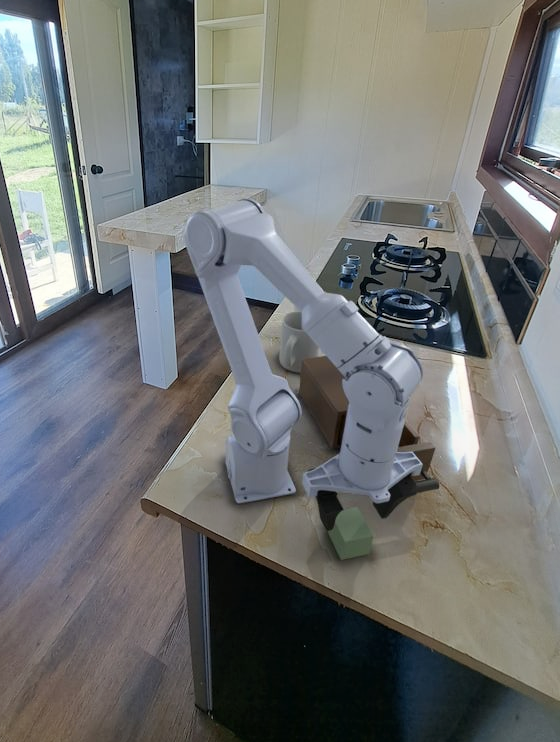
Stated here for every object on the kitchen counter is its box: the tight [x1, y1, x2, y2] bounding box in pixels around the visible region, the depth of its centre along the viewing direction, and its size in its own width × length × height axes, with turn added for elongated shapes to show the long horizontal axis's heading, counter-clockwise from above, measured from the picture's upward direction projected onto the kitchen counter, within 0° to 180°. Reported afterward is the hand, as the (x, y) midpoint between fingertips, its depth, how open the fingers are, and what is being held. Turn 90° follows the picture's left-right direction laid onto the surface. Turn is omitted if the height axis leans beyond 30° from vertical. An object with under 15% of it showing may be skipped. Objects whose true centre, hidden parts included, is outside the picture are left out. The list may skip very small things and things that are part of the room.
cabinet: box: [298, 355, 349, 450], centre depth 71 cm, size 15×12×9 cm
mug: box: [278, 311, 320, 374], centre depth 85 cm, size 12×8×11 cm
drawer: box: [338, 414, 440, 494], centre depth 61 cm, size 18×10×7 cm, turn 10°
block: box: [327, 506, 374, 561], centre depth 51 cm, size 4×4×4 cm
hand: (352, 517), depth 50 cm, fingers open, 7 cm apart
